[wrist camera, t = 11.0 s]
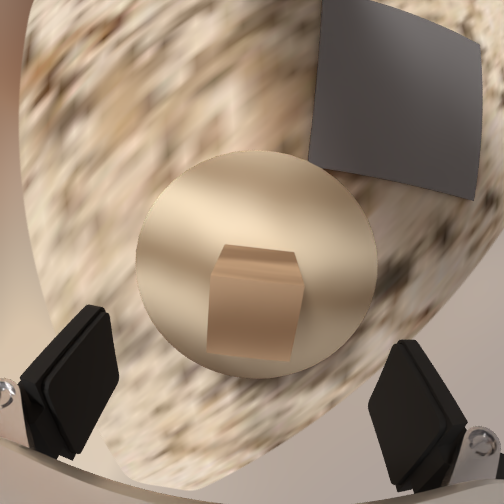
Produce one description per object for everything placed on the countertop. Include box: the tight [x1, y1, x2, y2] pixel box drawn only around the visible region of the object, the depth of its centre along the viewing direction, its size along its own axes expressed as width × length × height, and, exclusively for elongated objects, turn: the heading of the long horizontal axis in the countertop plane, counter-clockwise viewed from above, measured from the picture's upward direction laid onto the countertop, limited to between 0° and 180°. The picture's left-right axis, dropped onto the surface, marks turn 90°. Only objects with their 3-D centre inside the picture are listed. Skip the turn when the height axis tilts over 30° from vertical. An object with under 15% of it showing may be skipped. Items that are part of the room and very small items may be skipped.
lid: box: [136, 150, 378, 379], centre depth 16 cm, size 15×15×6 cm
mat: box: [308, 0, 482, 201], centre depth 20 cm, size 16×16×1 cm
